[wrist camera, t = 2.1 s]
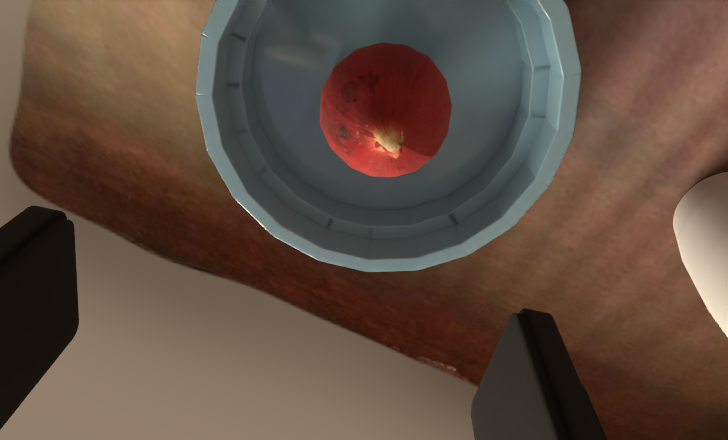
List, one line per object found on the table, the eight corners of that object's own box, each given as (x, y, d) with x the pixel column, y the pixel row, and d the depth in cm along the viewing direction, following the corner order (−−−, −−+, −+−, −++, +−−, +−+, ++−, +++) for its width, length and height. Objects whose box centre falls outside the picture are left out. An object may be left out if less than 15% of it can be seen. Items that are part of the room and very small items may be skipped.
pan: (208, 190, 30) (181, 229, 26) (249, -149, 23) (220, -167, 19) (482, 256, 32) (496, 302, 28) (610, -43, 24) (654, -39, 20)
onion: (326, 139, 28) (306, 207, 21) (330, 26, 25) (308, 59, 18) (435, 147, 28) (451, 218, 21) (450, 35, 25) (474, 72, 18)
